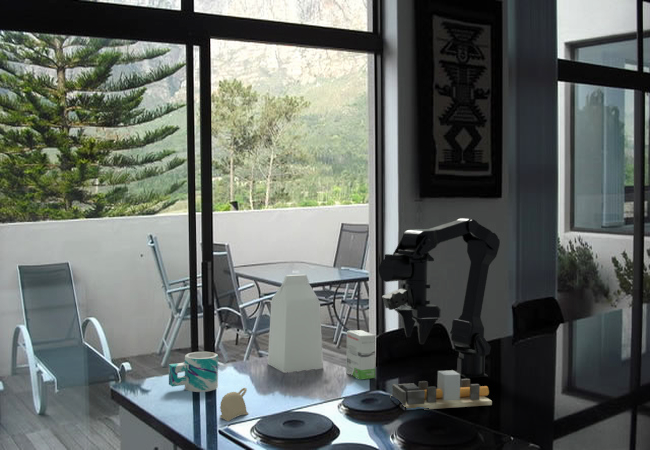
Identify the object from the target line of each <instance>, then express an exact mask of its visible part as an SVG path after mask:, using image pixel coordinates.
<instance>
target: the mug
mask: <svg viewBox="0 0 650 450" xmlns="http://www.w3.org/2000/svg"><path fill="white" fill-rule="evenodd" d="M183 371H184V375H178V372H183ZM218 379H219V355H218V354H217V353H215V352H211V351H194V352H189V353H186V354H185V355H184V362H179V363H169V364H168V385H169V386H171V387H172V388H173V387H178V386H184V390H187V391H188V392H196V393H204V392H205V393H206V392H211V391H216V390H217V388H218V386H219V385H218V384H219V383H218V381H219V380H218Z"/></svg>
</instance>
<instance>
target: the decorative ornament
mask: <svg viewBox="0 0 650 450" xmlns="http://www.w3.org/2000/svg"><path fill="white" fill-rule="evenodd" d="M247 391H248V390H247V388H246V387H242V388H241V389H240V390H239V391H238V392H237V391H231V392H228V393H226V394H224V396H222V398H221V401H220V406H219V408H220V413H221V414H220V415H219V417H220V418H222V419H223V420H225V421H226V422H229V421H231V420H232V419H233V420H234V418H237V417H238V416H243V415H249V412H248V411H247V406H246V402H245V400H244V398H243V397H244V396H245V395H246V393H247Z"/></svg>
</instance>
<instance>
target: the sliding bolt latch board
mask: <svg viewBox="0 0 650 450" xmlns="http://www.w3.org/2000/svg"><path fill="white" fill-rule="evenodd" d="M403 385H416V384H415V383H398V384H396V383H395V384H392V387H391V388H392V389H391V392H392V394H391V396H393V397H395V398H397V399H398V400H399V401H400V402H401V403H402V405H403V406H404V407H406V408H416V407H424V408H429V409H428V410H434V409H435V410H437V409H450V408H465V407H467V408H469V407H479V406H480V407H481V406H492V405H493V401H492V400H491V399H490V398H488V397H487V396H486V395H485V396H479V392H480V386H481V385H480V384H479V383H471V379H470V378H460V388H463V387H470V397H460V400H443V399H441V398H439V399H436V389H437V387H436V386H434V385H433V386H429V382H428V381H427V380H421V381H418V387H419V388H420V390H414V391H407V401H406V392H405V391H404V390H403ZM424 390H427V399H425V391H424Z"/></svg>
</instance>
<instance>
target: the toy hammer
mask: <svg viewBox="0 0 650 450" xmlns="http://www.w3.org/2000/svg"><path fill="white" fill-rule="evenodd" d="M436 385H437V387H436V399H439V398H441V399H443V400H460V397H470V387H463V388H461V375H460V374H459V373H457V372H456V370H453V369H451V370H437V384H436ZM403 390H404V391H405V392H406V401H407V391H414V390H420V388H419V385H418V386H417V385H416V384H415V385H403ZM424 391H425V399H427V390H424ZM489 394H490V390H489V387H488V386H487V385H484V386H483V385H482V386H481V385H480V392H479V396H485V397H486V396H488V395H489Z"/></svg>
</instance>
